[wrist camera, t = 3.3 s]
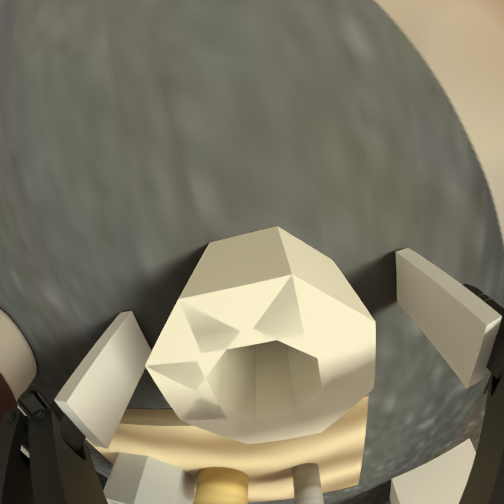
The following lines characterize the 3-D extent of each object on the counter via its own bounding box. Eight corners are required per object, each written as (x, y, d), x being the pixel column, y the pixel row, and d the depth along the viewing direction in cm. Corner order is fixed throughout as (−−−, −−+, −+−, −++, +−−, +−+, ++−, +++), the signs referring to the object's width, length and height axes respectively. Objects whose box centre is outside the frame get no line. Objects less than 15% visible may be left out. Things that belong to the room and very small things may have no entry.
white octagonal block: (166, 253, 12) (115, 310, 7) (324, 215, 11) (371, 254, 6) (214, 372, 14) (200, 446, 9) (342, 346, 13) (371, 418, 8)
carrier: (71, 403, 16) (39, 458, 10) (361, 378, 14) (395, 468, 8) (157, 486, 21) (147, 529, 15) (355, 473, 19) (366, 523, 13)
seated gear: (102, 448, 16) (84, 491, 11) (170, 457, 15) (158, 510, 10) (141, 482, 18) (131, 519, 13) (204, 489, 17) (199, 531, 13)
